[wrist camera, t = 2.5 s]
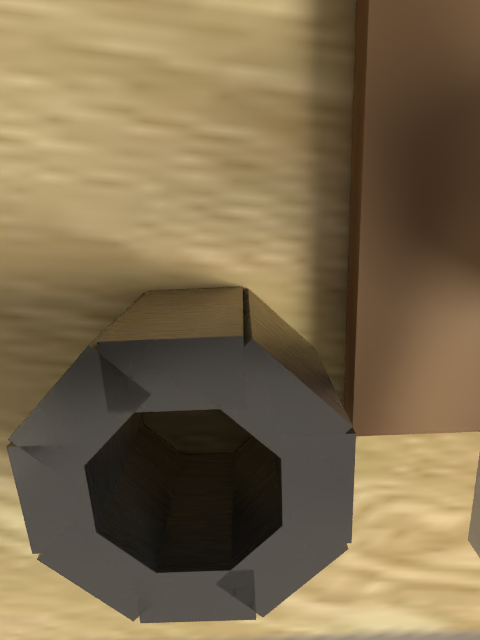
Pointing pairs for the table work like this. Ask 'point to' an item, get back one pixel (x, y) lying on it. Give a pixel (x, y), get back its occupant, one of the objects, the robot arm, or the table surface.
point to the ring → (189, 463)
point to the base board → (414, 220)
